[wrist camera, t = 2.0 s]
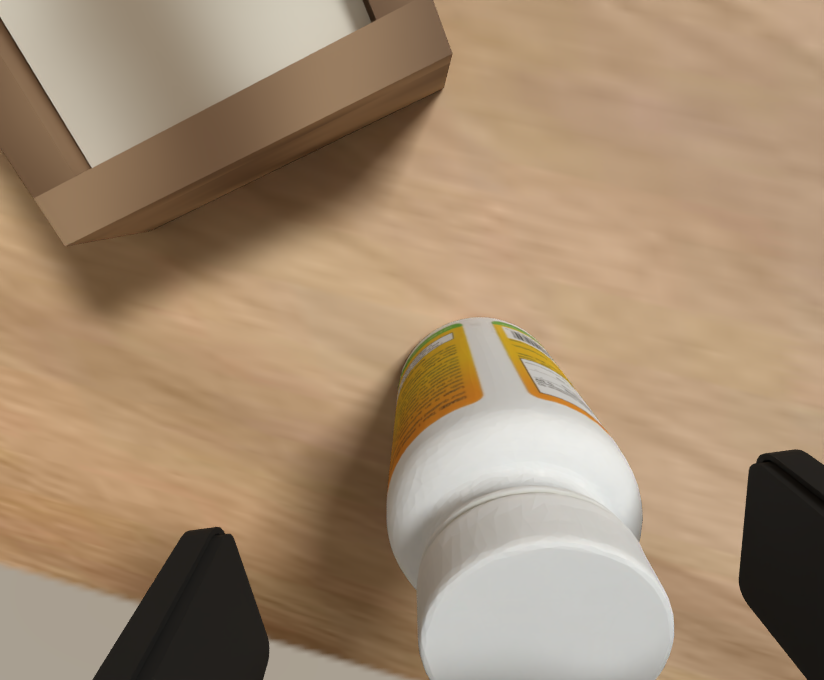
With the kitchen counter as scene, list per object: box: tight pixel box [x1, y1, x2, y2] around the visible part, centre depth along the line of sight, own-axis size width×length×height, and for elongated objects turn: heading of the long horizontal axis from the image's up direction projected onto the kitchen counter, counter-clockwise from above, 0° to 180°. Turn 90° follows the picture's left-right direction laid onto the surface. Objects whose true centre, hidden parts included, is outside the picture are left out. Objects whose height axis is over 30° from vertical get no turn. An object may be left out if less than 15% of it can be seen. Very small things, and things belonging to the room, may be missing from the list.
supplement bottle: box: [386, 317, 674, 680], centre depth 12 cm, size 5×5×10 cm
